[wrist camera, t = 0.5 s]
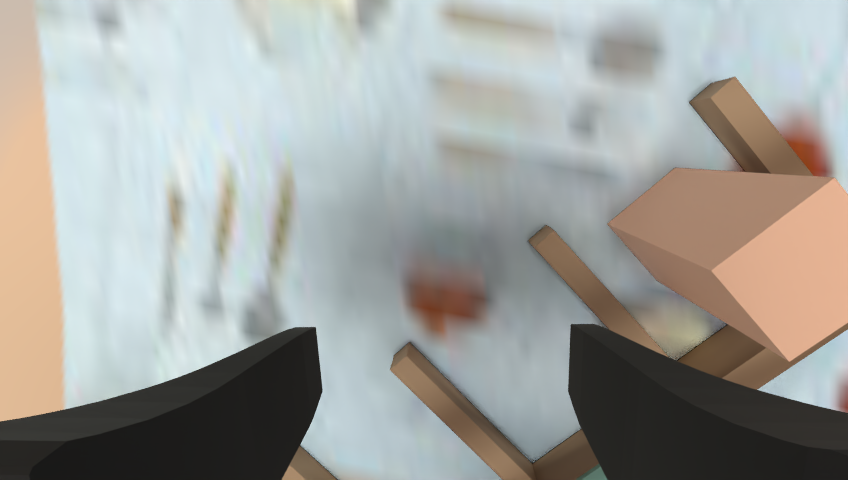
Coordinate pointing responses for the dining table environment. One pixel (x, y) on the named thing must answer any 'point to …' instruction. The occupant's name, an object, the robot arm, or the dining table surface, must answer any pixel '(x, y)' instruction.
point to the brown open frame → (610, 318)
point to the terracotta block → (748, 250)
